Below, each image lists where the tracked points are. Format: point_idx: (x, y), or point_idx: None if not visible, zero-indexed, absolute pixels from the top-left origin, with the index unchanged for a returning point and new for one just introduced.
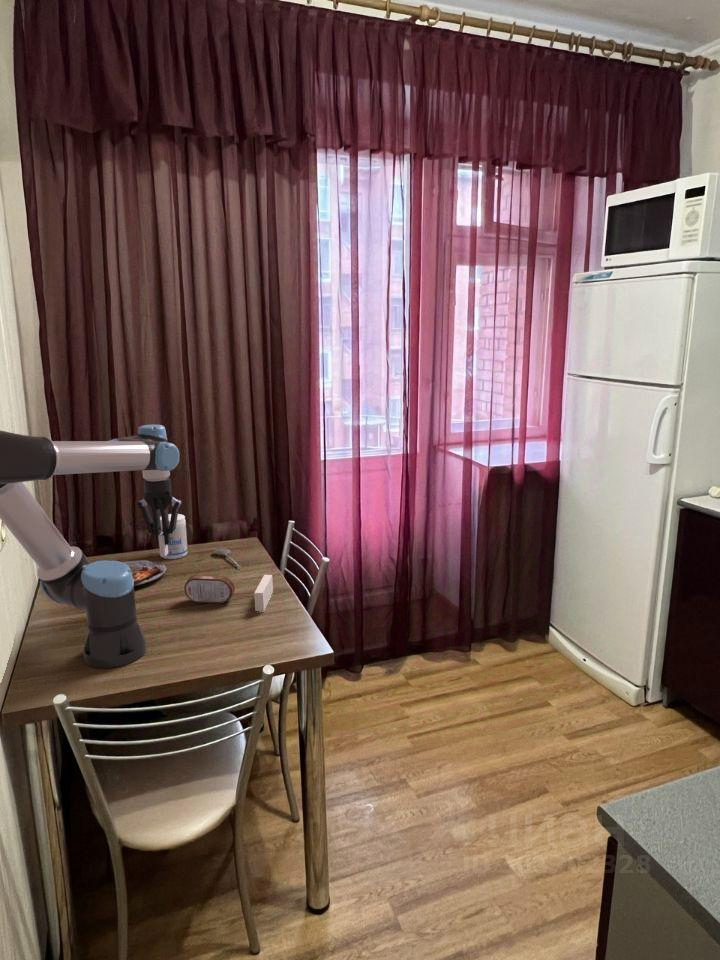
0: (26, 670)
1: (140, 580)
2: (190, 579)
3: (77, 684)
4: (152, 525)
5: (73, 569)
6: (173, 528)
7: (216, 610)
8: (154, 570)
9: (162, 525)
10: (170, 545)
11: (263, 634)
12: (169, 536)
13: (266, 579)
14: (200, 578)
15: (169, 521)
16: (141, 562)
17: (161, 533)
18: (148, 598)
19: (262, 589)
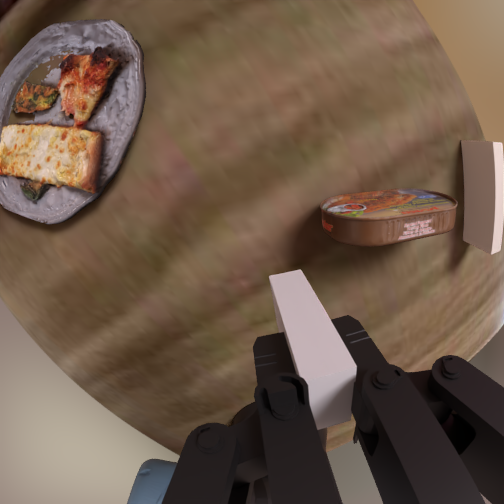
0: None
1: (100, 147)
2: (366, 245)
3: None
4: (219, 488)
5: None
6: (459, 416)
7: (401, 250)
8: (105, 71)
9: (382, 491)
10: None
11: (469, 309)
12: (377, 354)
13: (500, 172)
14: (400, 240)
15: None
16: (44, 37)
17: (314, 398)
18: (184, 222)
19: (500, 232)
